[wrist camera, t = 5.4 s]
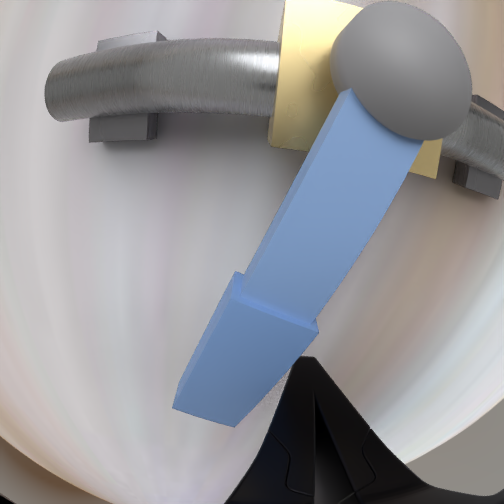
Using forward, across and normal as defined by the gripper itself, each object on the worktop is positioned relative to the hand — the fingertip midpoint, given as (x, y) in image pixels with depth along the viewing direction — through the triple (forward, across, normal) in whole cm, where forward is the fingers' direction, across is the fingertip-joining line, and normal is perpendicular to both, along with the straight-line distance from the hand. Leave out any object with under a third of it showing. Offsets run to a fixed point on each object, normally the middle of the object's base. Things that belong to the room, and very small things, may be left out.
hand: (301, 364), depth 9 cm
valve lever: (0, +1, -4) cm, 4 cm away
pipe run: (+6, -1, -9) cm, 11 cm away
